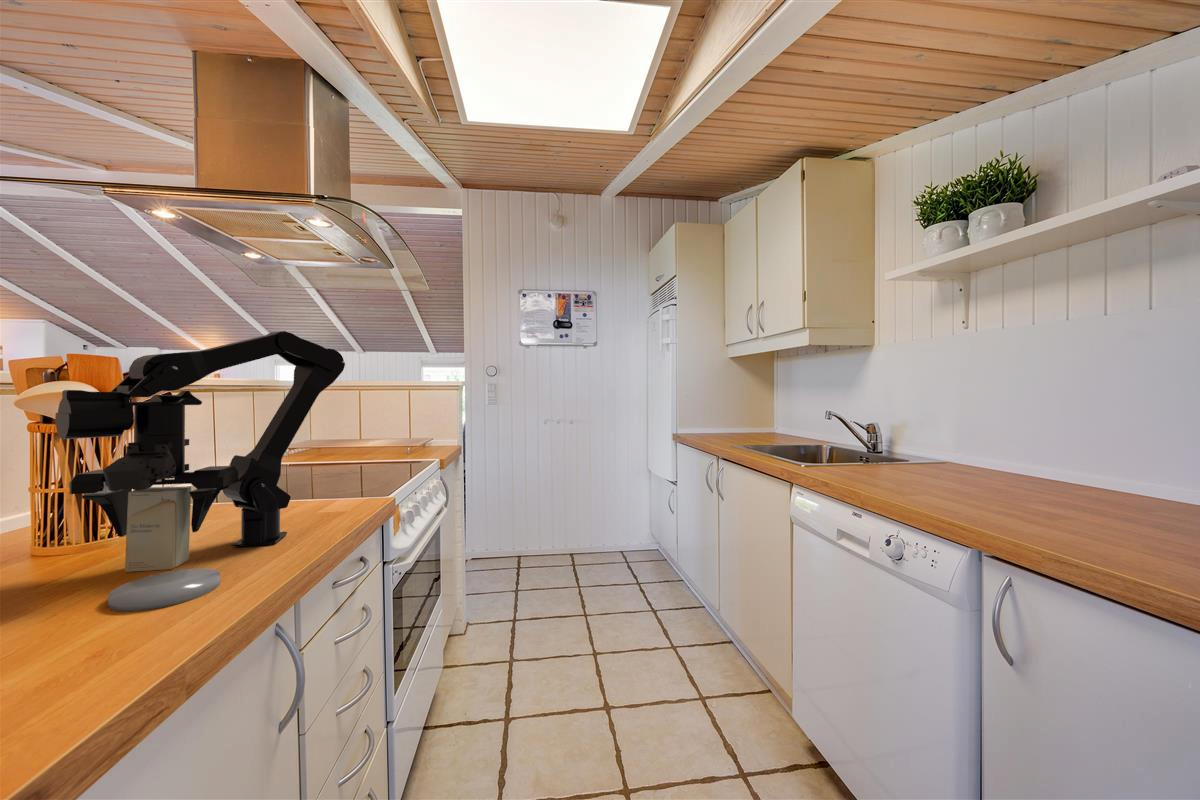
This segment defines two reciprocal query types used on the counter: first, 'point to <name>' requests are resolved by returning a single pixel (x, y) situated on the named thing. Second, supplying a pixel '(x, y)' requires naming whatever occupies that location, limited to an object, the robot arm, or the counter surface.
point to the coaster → (163, 589)
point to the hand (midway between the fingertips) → (159, 533)
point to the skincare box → (157, 528)
